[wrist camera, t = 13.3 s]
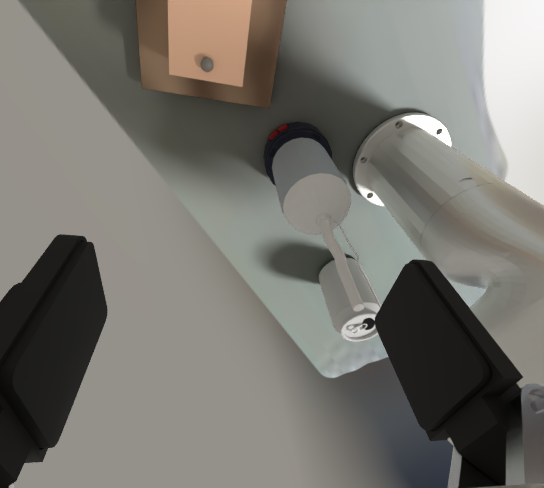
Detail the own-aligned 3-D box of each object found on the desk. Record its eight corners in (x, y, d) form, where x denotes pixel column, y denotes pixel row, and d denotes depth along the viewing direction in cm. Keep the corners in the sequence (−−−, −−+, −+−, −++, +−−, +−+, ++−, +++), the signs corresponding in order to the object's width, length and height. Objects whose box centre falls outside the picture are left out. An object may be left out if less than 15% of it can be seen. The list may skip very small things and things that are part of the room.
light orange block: (250, -23, 27) (255, -29, 21) (240, 74, 31) (242, 88, 26) (178, -41, 25) (165, -51, 20) (178, 63, 30) (167, 75, 25)
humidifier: (275, 112, 36) (330, 247, 16) (338, 133, 38) (454, 273, 18) (255, 175, 40) (278, 340, 21) (312, 190, 42) (383, 352, 23)
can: (363, 279, 54) (390, 337, 45) (322, 291, 55) (340, 350, 46) (358, 248, 50) (387, 306, 40) (313, 262, 51) (332, 321, 41)
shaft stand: (291, -53, 27) (306, -66, 22) (267, 103, 35) (274, 121, 30) (134, -94, 25) (109, -119, 20) (146, 84, 32) (130, 99, 27)
